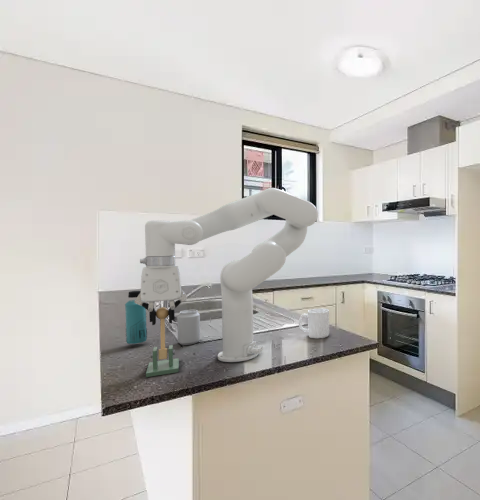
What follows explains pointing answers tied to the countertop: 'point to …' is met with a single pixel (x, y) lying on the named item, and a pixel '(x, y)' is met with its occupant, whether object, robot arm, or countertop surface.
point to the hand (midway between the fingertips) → (162, 322)
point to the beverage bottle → (135, 320)
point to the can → (188, 327)
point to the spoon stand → (162, 364)
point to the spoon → (162, 331)
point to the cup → (316, 323)
